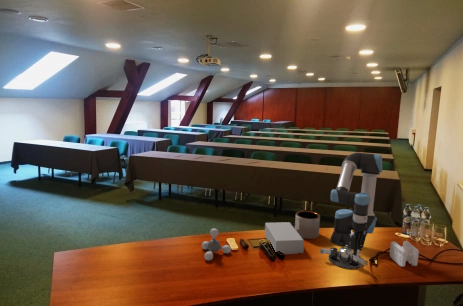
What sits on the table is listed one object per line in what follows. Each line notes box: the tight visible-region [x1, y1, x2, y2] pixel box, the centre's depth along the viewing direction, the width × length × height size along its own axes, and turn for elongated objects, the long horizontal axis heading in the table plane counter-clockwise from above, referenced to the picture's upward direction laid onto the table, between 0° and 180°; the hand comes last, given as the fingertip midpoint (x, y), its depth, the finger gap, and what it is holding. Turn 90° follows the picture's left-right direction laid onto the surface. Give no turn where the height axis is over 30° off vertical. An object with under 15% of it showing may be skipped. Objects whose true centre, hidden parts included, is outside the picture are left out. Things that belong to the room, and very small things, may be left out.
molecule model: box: [201, 227, 232, 262], centre depth 205 cm, size 20×16×20 cm
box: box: [264, 221, 305, 255], centre depth 223 cm, size 19×30×10 cm, turn 7°
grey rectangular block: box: [320, 247, 339, 260], centre depth 202 cm, size 10×4×6 cm, turn 88°
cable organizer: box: [389, 240, 420, 268], centre depth 201 cm, size 15×11×12 cm
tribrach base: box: [328, 246, 363, 270], centre depth 202 cm, size 20×20×8 cm
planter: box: [294, 210, 321, 240], centre depth 238 cm, size 18×18×16 cm
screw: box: [351, 253, 369, 267], centre depth 192 cm, size 10×4×6 cm, turn 28°
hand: (355, 260), depth 185 cm, fingers closed
